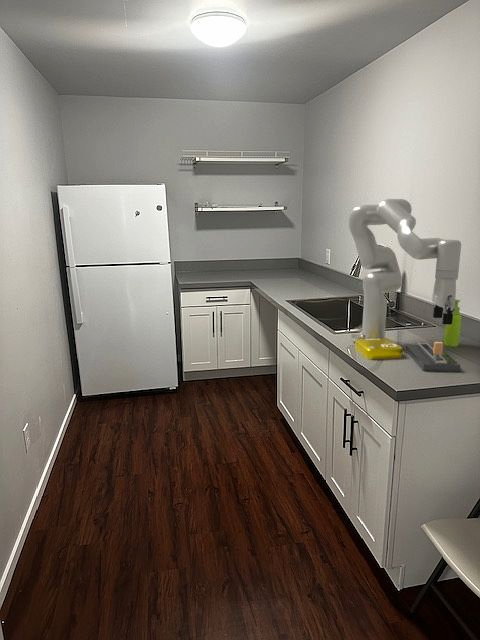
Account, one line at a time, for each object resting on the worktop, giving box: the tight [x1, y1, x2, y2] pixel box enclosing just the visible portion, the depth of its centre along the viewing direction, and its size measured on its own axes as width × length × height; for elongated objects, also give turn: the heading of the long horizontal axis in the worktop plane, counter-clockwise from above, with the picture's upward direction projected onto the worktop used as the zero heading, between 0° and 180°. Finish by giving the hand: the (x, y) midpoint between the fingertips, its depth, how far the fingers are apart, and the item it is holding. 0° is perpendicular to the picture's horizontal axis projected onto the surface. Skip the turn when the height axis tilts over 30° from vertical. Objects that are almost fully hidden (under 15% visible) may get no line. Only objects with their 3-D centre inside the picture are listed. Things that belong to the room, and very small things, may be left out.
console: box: [404, 342, 461, 373], centre depth 177 cm, size 13×24×4 cm, turn 176°
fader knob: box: [433, 341, 444, 360], centre depth 170 cm, size 3×4×6 cm
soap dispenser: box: [443, 298, 463, 348], centre depth 194 cm, size 6×7×20 cm
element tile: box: [354, 337, 403, 360], centre depth 186 cm, size 15×15×5 cm
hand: (442, 320), depth 167 cm, fingers open, 9 cm apart
